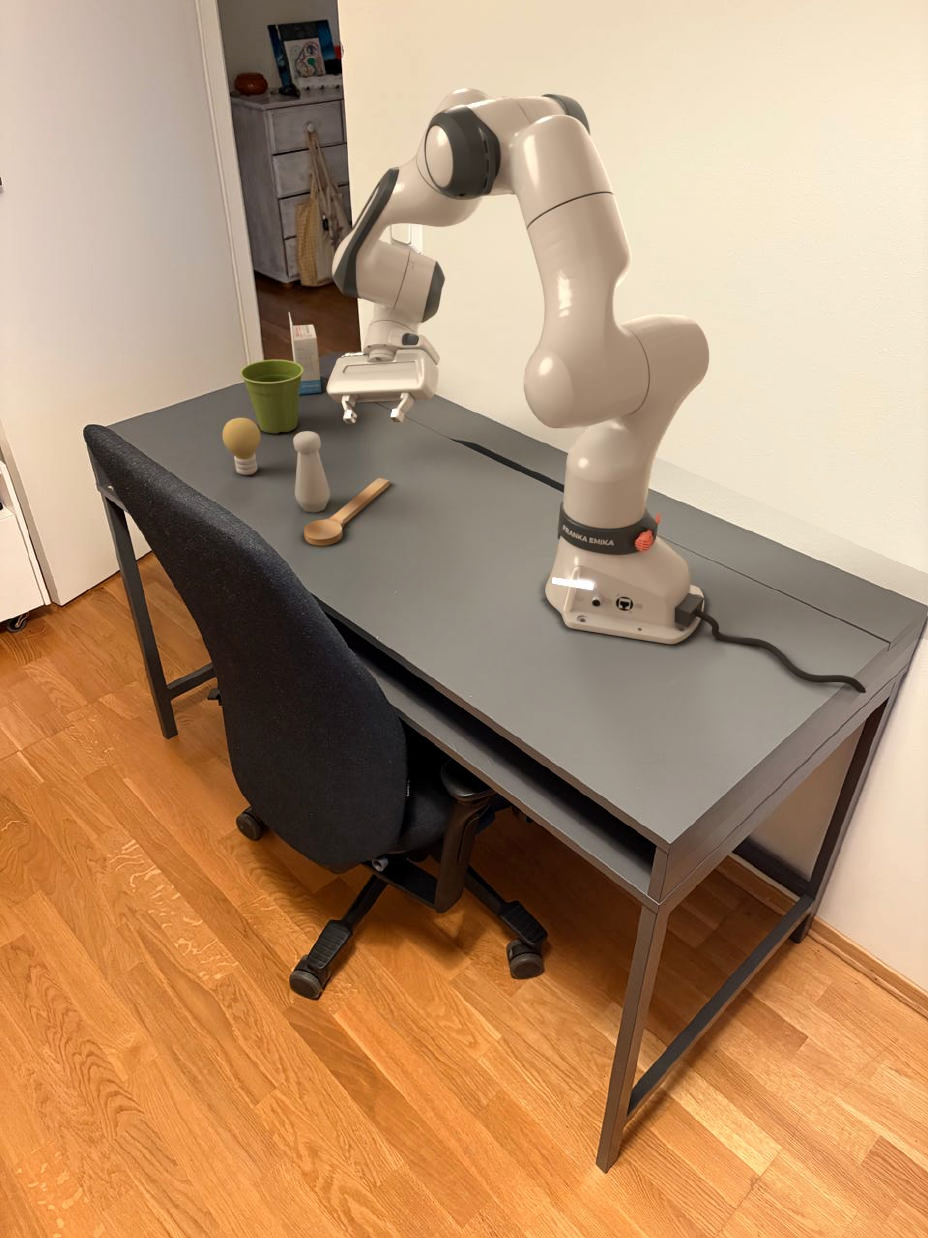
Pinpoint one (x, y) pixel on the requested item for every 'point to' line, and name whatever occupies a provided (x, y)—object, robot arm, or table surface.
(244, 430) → the light bulb
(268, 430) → the plant pot
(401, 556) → the table surface
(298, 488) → the salt shaker
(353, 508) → the wooden spoon
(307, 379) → the ink box
